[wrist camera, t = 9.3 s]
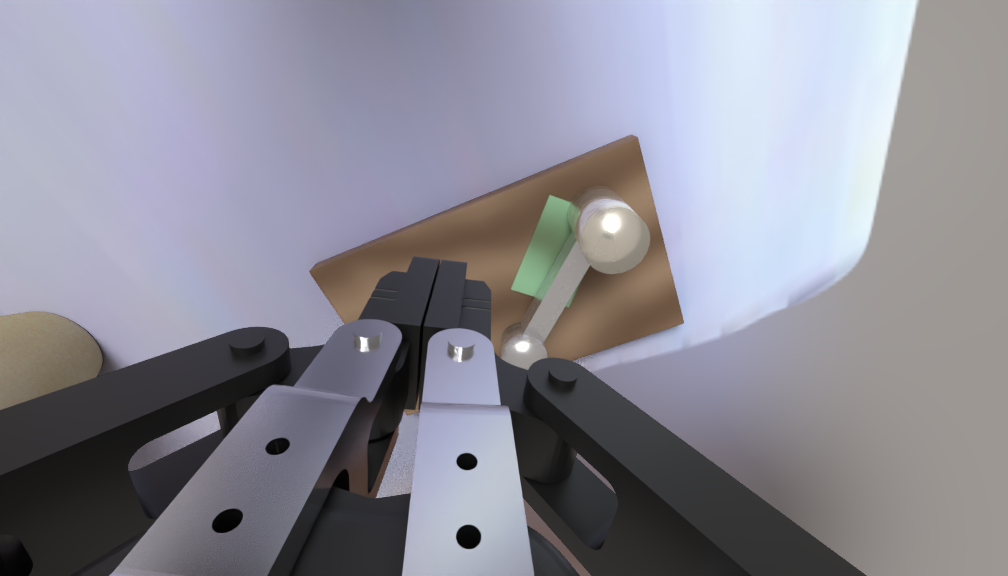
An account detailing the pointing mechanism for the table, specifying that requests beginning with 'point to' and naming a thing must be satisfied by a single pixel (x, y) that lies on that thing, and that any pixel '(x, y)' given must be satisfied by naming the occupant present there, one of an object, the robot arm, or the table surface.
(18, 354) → the plant pot
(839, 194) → the table surface
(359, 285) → the board
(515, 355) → the lever
